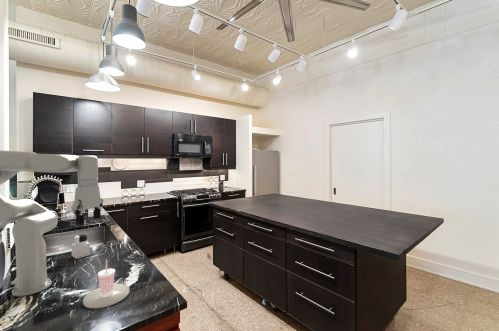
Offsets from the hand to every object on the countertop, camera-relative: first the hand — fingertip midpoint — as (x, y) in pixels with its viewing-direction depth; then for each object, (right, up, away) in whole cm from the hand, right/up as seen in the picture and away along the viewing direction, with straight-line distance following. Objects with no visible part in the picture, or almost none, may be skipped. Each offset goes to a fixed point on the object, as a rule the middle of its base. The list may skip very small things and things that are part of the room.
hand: (88, 221), depth 105 cm
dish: (+14, -28, -10) cm, 33 cm away
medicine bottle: (-27, -28, +32) cm, 51 cm away
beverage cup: (+14, -27, -10) cm, 32 cm away
